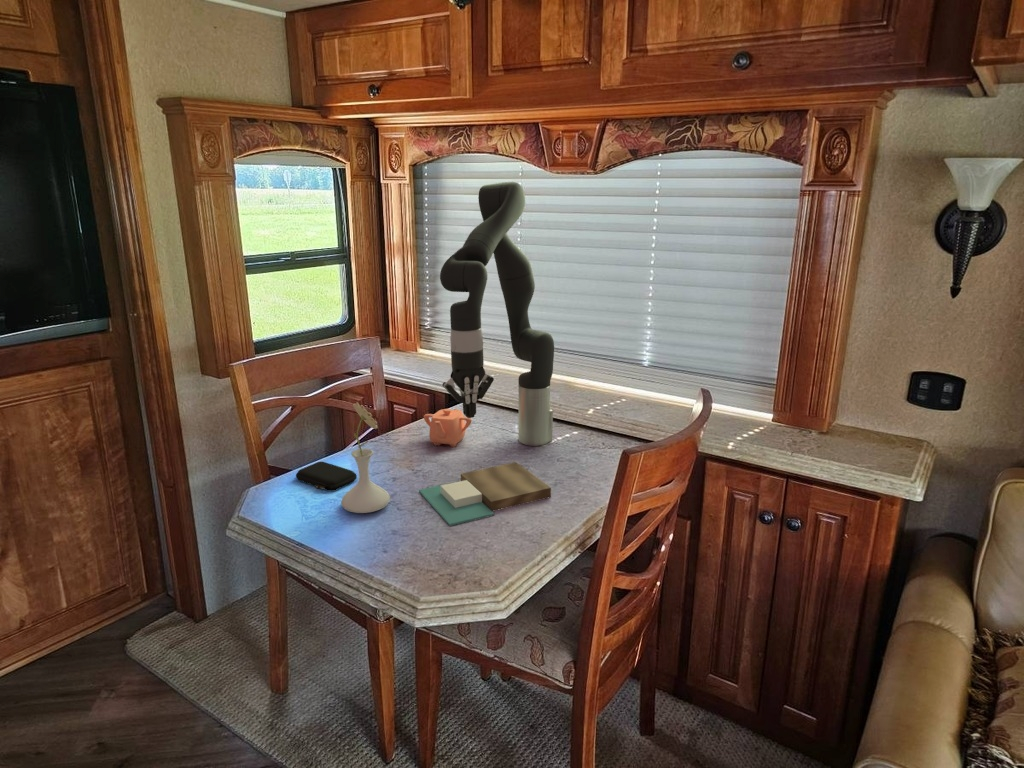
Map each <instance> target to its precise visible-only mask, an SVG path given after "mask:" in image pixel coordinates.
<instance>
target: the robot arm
mask: <svg viewBox="0 0 1024 768" xmlns="http://www.w3.org/2000/svg"><path fill="white" fill-rule="evenodd" d="M478 206H479V210H480V214H481V215H480V216H481V217H482V222H480V223H479V224H478V225H477V226H476V227H474V229H472V231H471V232H470V233H469V235H468V236H467V238H466V239H465V241H464V243H463V245H462V247H461V248H459V249H458V250H456V251H455V252H454V253H453V254H452V255H451V256H450V257H448V258H447V260H445V262H444V263H443V264H442V266H441V270H440V273H439V279H440V284H441V286H442V287H443V289H445V290H446V291H449V292H452V293H453V292H454V293H468V297H467V299H466V300H463V301H461V300H460V301H457V302H454V303H452V304H451V306H450V310H449V316H450V337H449V339H450V356H451V357H450V358H451V359H450V360H451V373H450V378H449V379H448V380H447V381H446V382H443V383H442V386H441V387H443V388H444V390H446V392H447V393H448V394H449V395H450V396H451V397H452V398H453V399H454V400H455V401H456V402H458V403H459V404H462V412H463V416H464V417H467V418H471V419H473V418H475V415H476V414H477V401H478V400H482V399H483V398H484V397H485V395H486V394H487V392H488V390H489V389H490V387H491V385H492V384H493V382H494V381H495V378H494V377H493V376H491V375H489V374H487V373H486V370H485V368H484V364H485V363H484V340H483V339H484V338H483V331H482V313H481V312H482V306H483V305H482V304H483V299H484V293H485V290H486V286H487V283H488V271H487V270H488V269H487V268H486V266H487V265H488V264H489V262H490V260H491V258H492V256H493V257H494V261H495V264H496V265H495V266H496V271H497V276H498V279H499V285H500V288H501V291H502V296H503V300H504V304H505V309H506V314H507V320H508V327H509V335H510V341H511V348H512V351H513V354H514V356H515V357H516V358H518V359H519V360H521V361H524V362H529V363H531V364H530V371H527V372H523V373H520V374H519V376H518V381H517V382H518V390H517V391H518V442H519V443H520V444H523V445H526V446H534V447H535V446H537V447H538V446H543V445H546V444H548V443H549V442H553V427H554V426H553V420H554V418H553V416H554V414H553V413H554V411H553V409H552V408H551V381H552V376H553V372H554V371H553V370H554V358H555V356H554V355H555V341H554V339H553V336H552V334H550V333H549V332H546V331H542V330H536V329H532V327H531V324H530V319H529V307H530V305H531V301H532V299H533V295H534V293H535V288H536V284H535V278H534V277H535V276H534V273H533V270H532V269H533V268H532V264H531V262H530V260H529V259H528V257H527V256H526V254H525V253H524V252H523V251H522V250H521V249H520V248H519V247H518V246H517V245H516V243H514V242H513V240H512V238H510V236H509V235H508V232H509V231H510V229H511V228H512V227H513V226H514V225H515V223H516V222H517V221H518V220H519V219H520V218H521V217H522V215H523V213H524V211H525V207H526V196H525V192H524V189H523V186H522V185H521V184H520V183H518V182H515V181H507V182H505V181H504V182H498V183H497V182H496V183H489V184H484V185H482V186H481V187H480V189H479V191H478ZM455 387H457V388H459V393H460V394H459V393H458V392H457V391H456V389H455Z"/></svg>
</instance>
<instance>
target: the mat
mask: <svg viewBox="0 0 1024 768" xmlns="http://www.w3.org/2000/svg"><path fill="white" fill-rule="evenodd" d="M460 481H461V480H459V481H457V482H460ZM455 482H456V481H454V482H452V483H455ZM450 483H451V482H448V484H450ZM446 484H447V483H445V484H443V485H446ZM441 485H442V484H440V485H439V484H438V485H435V486H431V487H426V488H421V489H418V493H420V495H421V494H422V495H421V496H422V497H423V498H424V500H426V501H427V502H428V503H429V504H430V506H431V507H432V508H433V509H434V510H435V511H436V512H437V514H438V515H439V516H440V517H441V518H442V519H443V521H445V523H446V524H448V525H449V527H451V526H455V525H456V524H457V525H461V524H464V522H465V523H469V522H472V520H473V521H476V520H475V519H477V520H480V519H479V518H481V519H485V518H488V517H487V516H489V517H492V516H491V515H493V516H495V513H494V511H491V510H490V509H489V508H488V507H487V506H486V505H485V504H484V503H483V502H478V503H474V504H470V505H465V506H461V507H457V508H455V507H454V506H453V505H452V504H451V503H450V502H449V501H448V500H447V499H446V498H445V497H444V496H443V495H442V494H441ZM484 517H485V518H484ZM468 521H469V522H468Z"/></svg>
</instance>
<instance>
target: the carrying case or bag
mask: <svg viewBox="0 0 1024 768" xmlns="http://www.w3.org/2000/svg"><path fill="white" fill-rule="evenodd" d="M295 477H296V479H297V481H300V482H302V483H305V484H308V485H311V486H314V487H315V488H316V489H317V490H326V491H330V492H334V491H337V490H339V489H341V488H344V487H345V486H349V485H350V484H352V483H353V482H355V481H356V480H357V478H358V477H357V473H355V472H354V471H353V470H351V469H349V468H344V467H341V466H339V465H335V464H333V463H328V462H326V461H317V462H315V463H313V464H311V465H307V466H306V467H304V468H301V469H299V470H298V471H297V472H296V474H295Z"/></svg>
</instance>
